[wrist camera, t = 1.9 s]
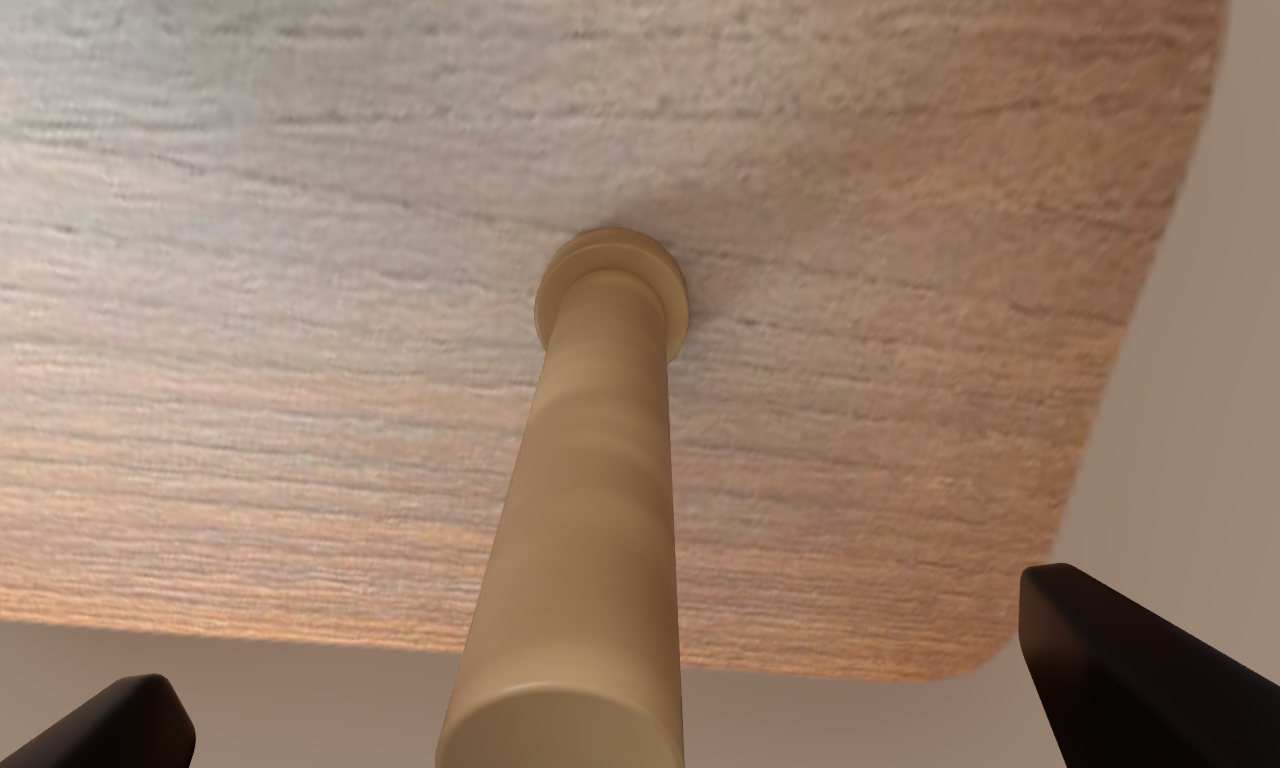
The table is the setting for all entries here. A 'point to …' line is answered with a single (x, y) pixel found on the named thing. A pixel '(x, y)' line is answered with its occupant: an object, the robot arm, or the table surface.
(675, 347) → the handle grip
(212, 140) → the table surface
